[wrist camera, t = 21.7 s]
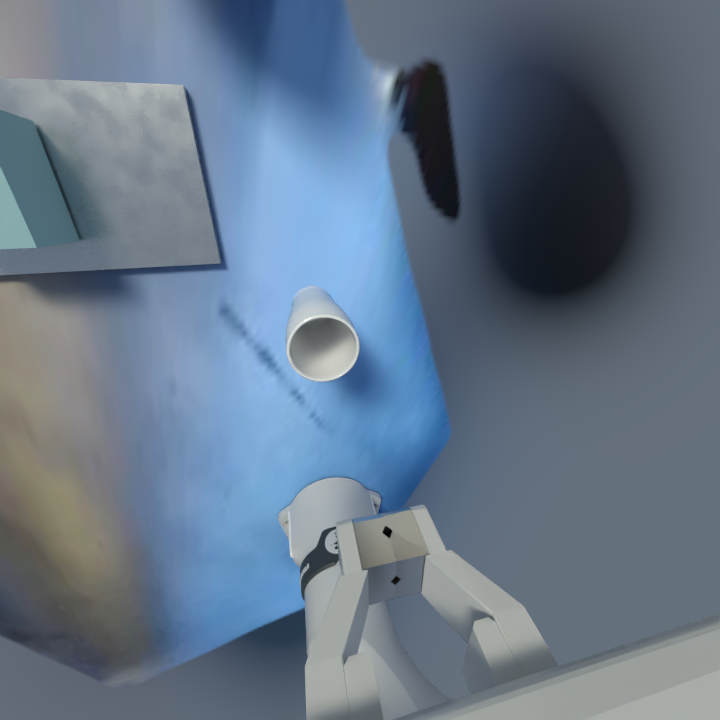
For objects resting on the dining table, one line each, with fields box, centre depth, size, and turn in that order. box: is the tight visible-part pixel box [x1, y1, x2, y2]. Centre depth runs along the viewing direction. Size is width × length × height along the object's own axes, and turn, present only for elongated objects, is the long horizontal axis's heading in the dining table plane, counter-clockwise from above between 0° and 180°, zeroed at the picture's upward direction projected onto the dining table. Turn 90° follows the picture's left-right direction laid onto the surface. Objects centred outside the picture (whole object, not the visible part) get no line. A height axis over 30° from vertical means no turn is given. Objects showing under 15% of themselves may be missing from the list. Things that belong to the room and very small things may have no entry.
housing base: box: [0, 78, 222, 275], centre depth 28 cm, size 16×32×5 cm, turn 91°
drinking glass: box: [285, 286, 360, 382], centre depth 35 cm, size 7×7×15 cm
